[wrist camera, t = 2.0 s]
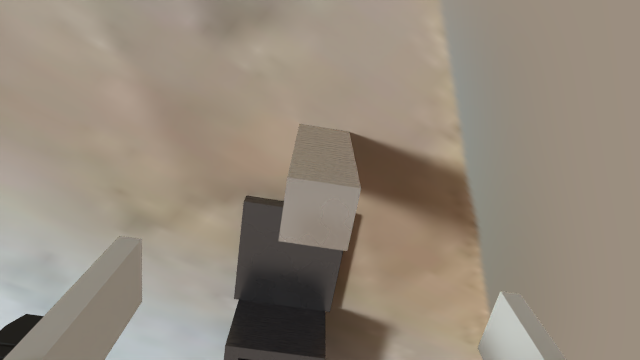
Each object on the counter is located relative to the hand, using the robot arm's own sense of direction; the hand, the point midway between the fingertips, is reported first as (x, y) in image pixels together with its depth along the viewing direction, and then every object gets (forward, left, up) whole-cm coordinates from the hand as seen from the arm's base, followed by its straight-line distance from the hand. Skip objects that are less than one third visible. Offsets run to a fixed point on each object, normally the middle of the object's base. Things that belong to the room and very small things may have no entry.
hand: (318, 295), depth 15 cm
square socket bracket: (+17, -1, -16) cm, 23 cm away
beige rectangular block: (0, 0, -16) cm, 16 cm away
